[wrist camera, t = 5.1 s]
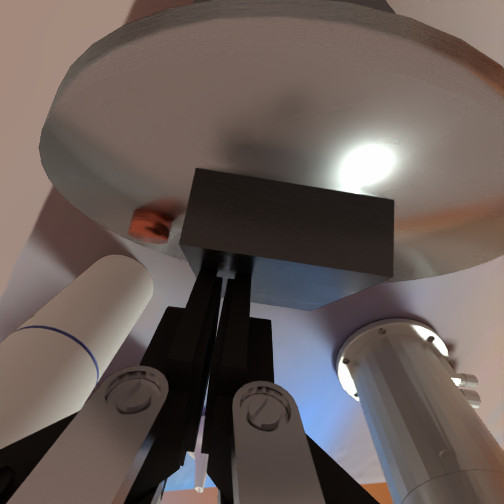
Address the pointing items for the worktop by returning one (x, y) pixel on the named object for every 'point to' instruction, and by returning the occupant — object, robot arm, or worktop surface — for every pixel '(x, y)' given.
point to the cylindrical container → (68, 346)
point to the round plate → (287, 145)
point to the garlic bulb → (200, 460)
